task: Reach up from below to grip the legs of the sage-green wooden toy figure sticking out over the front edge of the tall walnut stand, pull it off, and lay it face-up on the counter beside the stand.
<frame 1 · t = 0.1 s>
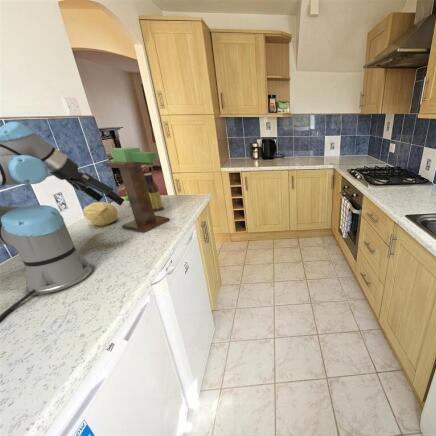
hand: (111, 200, 100), 15 cm above the countertop, tool tilted 35°, fingers open, 13 cm apart
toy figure: (128, 160, 103), point 30 cm above the countertop, touching walnut stand
walnut stand: (146, 224, 115), on the countertop
sculpture: (105, 223, 118), on the countertop
sauce bottle: (157, 209, 133), on the countertop
decorative model: (140, 204, 143), on the countertop
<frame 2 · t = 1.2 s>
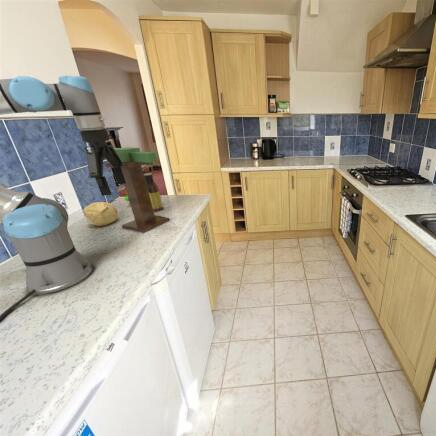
hand: (115, 189, 91), 22 cm above the countertop, tool pointing down, fingers open, 13 cm apart
nothing on the countertop moved.
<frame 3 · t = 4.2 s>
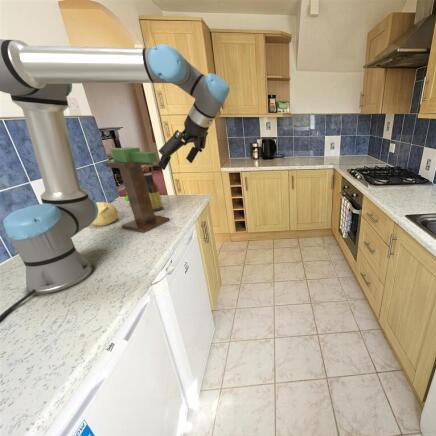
hand: (175, 163, 93), 30 cm above the countertop, tool tilted 45°, fingers open, 13 cm apart
nothing on the countertop moved.
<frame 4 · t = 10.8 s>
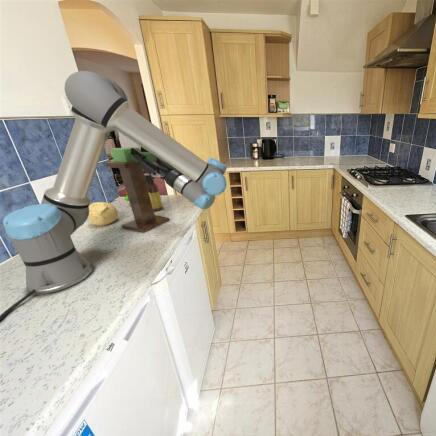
hand: (136, 150, 99), 34 cm above the countertop, tool pointing upward, fingers closed on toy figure, 4 cm apart
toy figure: (128, 160, 103), point 30 cm above the countertop, touching gripper, walnut stand
everything else where it was.
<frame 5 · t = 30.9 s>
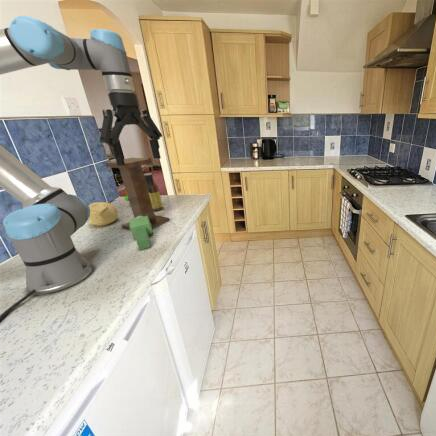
hand: (140, 161, 84), 33 cm above the countertop, tool pointing down, fingers open, 13 cm apart
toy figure: (143, 231, 105), point 1 cm above the countertop, tilted 6°, touching walnut stand
everything else where it was.
at the end: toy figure inside the target area (7.7 cm from its centre), point 1.3 cm above the countertop; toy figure tilted 6°; the gripper is holding nothing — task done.
